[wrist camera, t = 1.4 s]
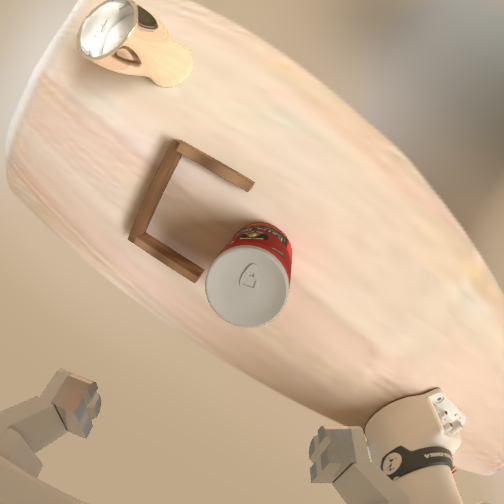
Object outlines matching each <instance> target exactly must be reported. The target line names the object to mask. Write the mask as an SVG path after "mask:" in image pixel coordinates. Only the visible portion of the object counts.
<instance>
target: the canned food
mask: <svg viewBox="0 0 504 504" xmlns="http://www.w3.org/2000/svg"><path fill="white" fill-rule="evenodd" d="M291 264H292V249H291V245H290V242H289V240H288V239H287V237H286V235H285V234H284V233H283V232H282V231H281V230H279V229H278V228H277V227H275V226H273V225H270V224H266V223H255V224H250V225H248V226H245V227H244V228H242V229H241V230H240V231H239V232H238V233H237V234H236V235H235V236H234V237H233V238H232V239H231V241H230V242H229V243H228V244H227V245H226V246H225V247H224V249H223V250H222V251H221V252H220V253H219V254H218V256H217V257H216V258H215V260H214V261H213V263H212V264H211V266H210V268H209V270H208V273H207V275H206V281H205V291H206V295H207V299H208V301H209V303H210V305H211V307H212V308H213V310H214V311H215V312H216V313H217V314H218V315H219V316H220V317H221V318H222V319H224V320H225V321H227V322H229V323H231V324H233V325H236V326H240V327H258V326H261V325H264V324H266V323H268V322H270V321H272V320H273V319H274V318H275V317H277V316H278V315H279V313H280V312H281V311H282V309H283V308H284V306H285V304H286V301H287V298H288V294H289V288H290V277H291Z"/></svg>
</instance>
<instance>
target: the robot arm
mask: <svg viewBox="0 0 504 504" xmlns="http://www.w3.org/2000/svg"><path fill="white" fill-rule="evenodd" d="M97 389H98V387H97V384H96V382H93V381H91V380H88V379H85V378H83V377H80V376H77V375H75V374H73V373H71V372H68V371H66V370H63V369H60V370H58V371H57V372H56V374H55V375H54V377H53V378H52V380H51V381H50V382H49V384H48V385H47V387H46V388H45V390H44V391H43V393H42V394H41V396H40V397H38V396H36V397H33V398H31V399H29V400H27V401H24V402H22V403H20V404H17V405H15V406H13V407H10V408H8V409H6V410H3V411H1V412H0V504H88V503H85V502H83V501H81V500H79V499H76V498H74V497H72V496H70V495H68V494H66V493H64V492H62V491H60V490H58V489H56V488H54V487H52V486H50V485H48V484H47V483H45V482H43V481H41V480H39V479H38V478H37V477H38V475H39V473H40V471H41V469H42V466H43V464H42V462H41V461H40V459H39V458H38V457H37V456H36V455H35V453H36V452H38V451H39V450H41V449H43V448H44V447H46V446H47V445H49V444H50V443H52V442H53V441H55V440H57V439H58V438H59V437H61V436H63V435H64V434H66V433H67V431H69V432H71V433H73V434H76V435H78V436H81V437H83V438H87V437H88V435H89V433H90V430H91V428H92V426H93V425H92V421H91V420H92V419H94V418H96V417H97V416H98V414H99V411H100V407H101V397H100V395H99V394H98V393H97V392H96V391H97ZM465 421H466V416H465V415H464V413H463V412H462V411H461V410H460V409H459V408H458V407H457V406H456V405H455V403H454V402H453V401H452V400H451V399H450V398H449V397H448V396H447V395H446V394H445V393H444V392H443V390H442V389H440V388H438V389H434V390H432V391H429V392H427V393H425V394H422V395H416V396H410V397H406V398H403V399H400V400H397V401H395V402H392V403H390V404H388V405H387V406H385V407H383V408H382V409H381V410H379V411H378V412H377V413H376V414H374V415H373V416H372V418H371V419H370V420H369V421H368V423H367V425H366V427H365V436H366V438H367V443H366V441H365V437H364V433H363V429H362V428H361V427H360V426H322V427H320V428H319V430H318V435H317V436H315V437H314V438H313V439H312V441H311V444H310V448H309V459H310V460H311V461H312V462H313V463H314V464H313V465H312V467H311V468H310V474H311V483H333V486H334V487H335V489H336V490H337V491H338V492H339V494H340V495H341V497H342V498H343V499H344V501H345V502H346V503H347V504H463V502H462V500H461V498H460V495H459V492H458V490H457V487H456V484H455V481H454V478H453V475H452V474H453V473H454V472H455V471H456V470H455V471H453V472H451V471H452V470H453V469H454V468H455V466H454V467H453V464H452V462H453V458H452V455H453V454H454V452H455V451H456V450H457V449H458V447H459V446H460V444H461V441H462V438H461V434H460V432H459V431H460V430H461V429H462V428H463V427H462V426H463V425H464V423H465ZM368 453H370V455H371V459H372V462H370V459H369V455H368ZM476 504H489V503H487V502H483V501H482V502H479V503H476Z"/></svg>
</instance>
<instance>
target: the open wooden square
mask: <svg viewBox="0 0 504 504" xmlns="http://www.w3.org/2000/svg"><path fill="white" fill-rule="evenodd" d="M182 154H183V155H184V156H186V157H188V158H190V159H192V160H193V161H195V162H197V163H199V164H200V165H202V166H204V167H206V168H207V169H209V170H211V171H212V172H214V173H216V174H218V175H219V176H221V177H223V178H224V179H226V180H228V181H230V182H231V183H233V184H235V185H236V186H238V187H240V188H241V189H243V190H245V191H246V192H248V191H250V190H251V189H252V187H253V185H254V183H255V182H253V181H252V180H250V179H248V178H247V177H245V176H243V175H242V174H240V173H238V172H236V171H235V170H233V169H231V168H230V167H228V166H226V165H224V164H223V163H221V162H219V161H217V160H216V159H214V158H212V157H210V156H209V155H207V154H205V153H203V152H201V151H200V150H198V149H196V148H194V147H192V146H191V145H189V144H187V143H185V142H183V141H181V140H173V141H172V143H171V145H170V147H169V149H168V151H167V153H166V155H165V157H164V159H163V161H162V163H161V165H160V167H159V169H158V171H157V173H156V175H155V177H154V180H153V182H152V184H151V186H150V188H149V190H148V193H147V195H146V197H145V199H144V201H143V204H142V206H141V208H140V211H139V213H138V215H137V218H136V220H135V222H134V225H133V227H132V230H131V232H130V235H129V237H128V240H129V241H131V242H132V243H134V244H135V245H137V246H138V247H140V248H141V249H143V250H144V251H146V252H147V253H149V254H150V255H152V256H153V257H155V258H156V259H158V260H159V261H161V262H162V263H164V264H165V265H167V266H169V267H170V268H172V269H173V270H175V271H176V272H178V273H179V274H181V275H182V276H184V277H186V278H187V279H189V280H190V281H192V282H194V283H196V281H197V280H198V279H199V278H200V277H201V275H202V273H203V271H204V270H203V269H202V268H200V267H199V266H197V265H196V264H194V263H192V262H191V261H189V260H188V259H186V258H184V257H183V256H181V255H180V254H178V253H177V252H175V251H173V250H172V249H170V248H169V247H167V246H166V245H164V244H163V243H161V242H160V241H158V240H156V239H155V238H153V237H152V236H150V235H149V234H147V233H146V229H147V227H148V225H149V223H150V220H151V218H152V216H153V214H154V211H155V209H156V207H157V205H158V203H159V201H160V199H161V196H162V194H163V192H164V190H165V188H166V186H167V184H168V182H169V180H170V178H171V176H172V174H173V172H174V170H175V168H176V166H177V164H178V162H179V160H180V158H181V156H182Z"/></svg>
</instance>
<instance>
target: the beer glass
mask: <svg viewBox="0 0 504 504" xmlns="http://www.w3.org/2000/svg"><path fill="white" fill-rule="evenodd" d="M77 49H78V52H79V54H80V55H81V56H82V57H83V58H85V59H87V60H90V61H92V62H94V63H96V64H98V65H100V66H102V67H104V68H106V69H109V70H111V71H114V72H118V73H121V74H127V75H135V76H145V77H149V78H150V79H151V80H152V81H153V82H154V83H155V84H157V85H159V86H161V87H173V86H176V85H178V84H180V83H182V82H183V81H184V80H185V79H186V78H187V77H188V76H189V75H190V73H191V71H192V68H193V64H194V59H193V55H192V53H191V52H190V50H189V49H188V48H186V47H185V46H183V45H180V44H177V43H175V41H174V40H173V38H172V36H171V35H170V33H169V31H168V30H167V28H166V27H165V26H164V24H163V23H162V22H161V21H160V20H159V19H158V18H157V17H156V16H155V15H154V14H153V13H151V12H150V11H149V10H147V9H146V8H144V7H142V6H141V5H139V4H137V3H135V2H134V1H133V0H106V1H104V2H103V3H101V4H100V5H98V6H97V7H96V8H94V9H93V10H92V11H91V12H90V13H89V15H88V16H87V17H86V19H85V20H84V22H83V23H82V25H81V27H80V29H79V32H78V36H77Z"/></svg>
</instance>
